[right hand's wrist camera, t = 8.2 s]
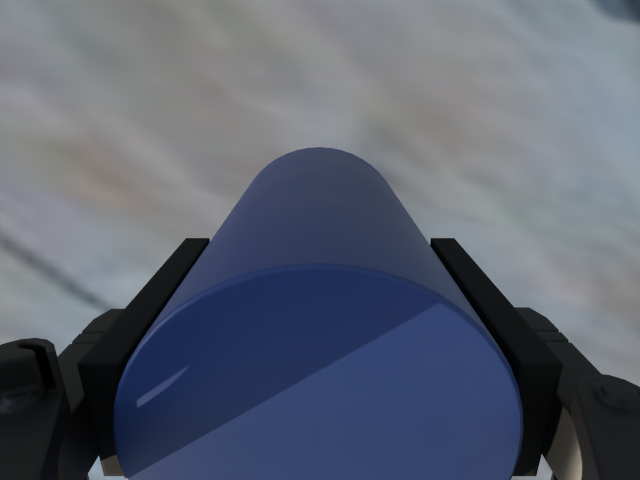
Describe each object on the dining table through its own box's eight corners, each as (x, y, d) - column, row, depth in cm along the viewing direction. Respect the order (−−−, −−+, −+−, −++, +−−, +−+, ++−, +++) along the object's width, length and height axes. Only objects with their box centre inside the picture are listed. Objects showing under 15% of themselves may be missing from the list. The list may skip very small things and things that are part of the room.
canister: (358, 319, 21) (407, 618, 9) (218, 266, 20) (72, 528, 8) (427, 186, 18) (613, 362, 7) (272, 119, 17) (177, 190, 6)
